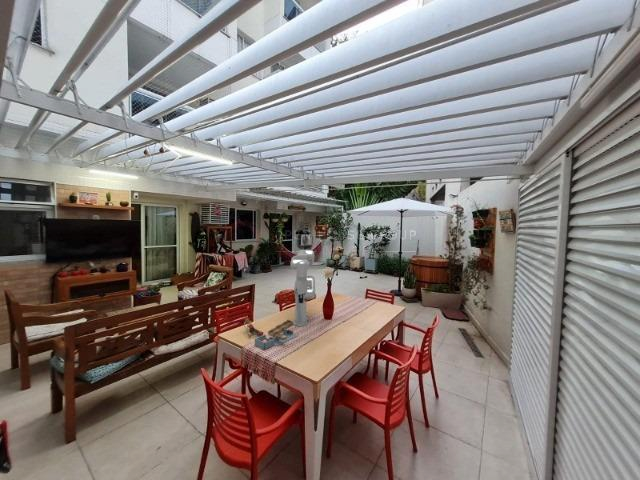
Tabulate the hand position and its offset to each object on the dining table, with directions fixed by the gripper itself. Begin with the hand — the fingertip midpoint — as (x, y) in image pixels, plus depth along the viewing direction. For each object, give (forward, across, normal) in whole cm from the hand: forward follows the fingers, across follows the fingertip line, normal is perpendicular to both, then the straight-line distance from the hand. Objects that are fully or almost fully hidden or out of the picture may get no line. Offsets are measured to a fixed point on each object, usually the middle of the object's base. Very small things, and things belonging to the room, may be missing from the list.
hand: (300, 302), depth 184 cm
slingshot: (+29, +18, -34) cm, 49 cm away
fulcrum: (+29, +6, -13) cm, 32 cm away
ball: (+27, +22, -14) cm, 37 cm away
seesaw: (+23, +6, -10) cm, 25 cm away
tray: (+29, +22, -14) cm, 39 cm away
